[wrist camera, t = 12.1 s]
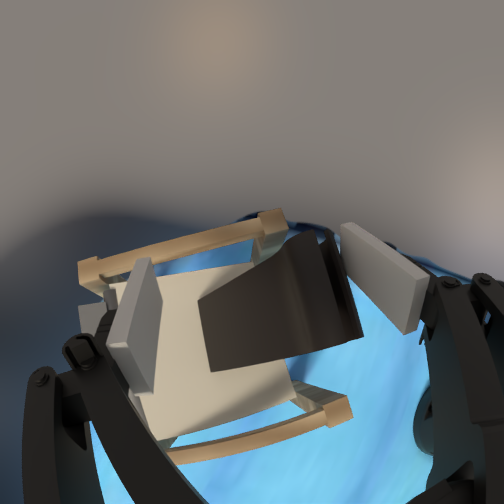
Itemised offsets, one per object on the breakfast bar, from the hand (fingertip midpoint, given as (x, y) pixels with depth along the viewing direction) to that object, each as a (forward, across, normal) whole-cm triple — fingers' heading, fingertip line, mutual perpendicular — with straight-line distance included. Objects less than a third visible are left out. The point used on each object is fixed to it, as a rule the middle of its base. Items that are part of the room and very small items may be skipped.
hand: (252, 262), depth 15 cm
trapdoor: (+5, -6, -10) cm, 13 cm away
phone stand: (+6, 0, -9) cm, 11 cm away
